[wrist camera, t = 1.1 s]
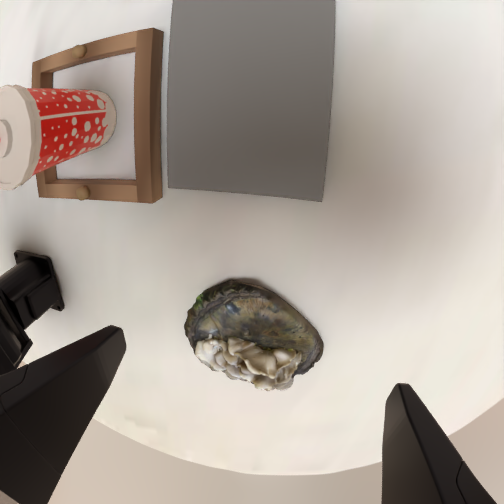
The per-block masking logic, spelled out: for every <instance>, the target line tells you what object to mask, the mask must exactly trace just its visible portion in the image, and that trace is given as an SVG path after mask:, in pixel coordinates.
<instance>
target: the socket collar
mask: <svg viewBox="0 0 504 504" xmlns="http://www.w3.org/2000/svg"><path fill="white" fill-rule="evenodd" d="M162 48H163V31H160V30H158V29H155V28H149V29H143V30H138V31H133V32H129V33H124V34H120V35H116V36H112V37H108V38H104V39H100V40H97V41H93V42H90V43H86V44H83V45H77V46H75V47H74V48H71V49H68V50H65V51H62V52H59V53H56V54H53V55H51V56H48V57H46V58H43V59H40V60H38V61H35V62H33V65H32V88H49V89H52V81H53V72H55V71H59V70H62V69H65V68H68V67H72V66H75V65H79V64H83V63H86V62H90V61H94V60H98V59H103V58H107V57H111V56H116V55H121V54H126V53H131V52H136V54H135V78H134V145H135V169H136V180H110V179H57V176H56V166H52V167H50V168H48V169H46V170H44V171H41V172H39V173H37V174H36V179H37V186H38V193H39V197H43V198H68V199H79V200H85V199H89V200H107V201H123V202H139V203H154V202H156V201H157V200H159V199H160V198H162V180H161V142H160V105H161V68H162Z"/></svg>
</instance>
